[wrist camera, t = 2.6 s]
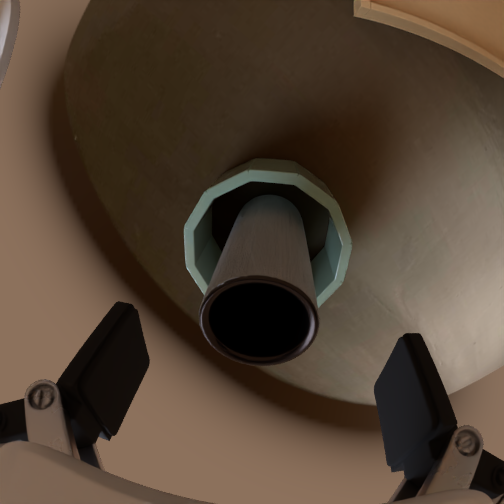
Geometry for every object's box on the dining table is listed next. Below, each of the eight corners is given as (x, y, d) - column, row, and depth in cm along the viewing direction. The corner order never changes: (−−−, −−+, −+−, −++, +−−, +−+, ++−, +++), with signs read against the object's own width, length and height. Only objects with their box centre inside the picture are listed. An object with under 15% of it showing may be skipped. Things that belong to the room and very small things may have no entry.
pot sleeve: (204, 275, 22) (188, 311, 18) (204, 154, 18) (182, 166, 14) (323, 287, 21) (331, 326, 17) (345, 167, 17) (364, 182, 13)
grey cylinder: (305, 195, 18) (329, 279, 9) (299, 257, 20) (309, 370, 11) (236, 192, 18) (192, 271, 9) (236, 253, 21) (203, 361, 11)
